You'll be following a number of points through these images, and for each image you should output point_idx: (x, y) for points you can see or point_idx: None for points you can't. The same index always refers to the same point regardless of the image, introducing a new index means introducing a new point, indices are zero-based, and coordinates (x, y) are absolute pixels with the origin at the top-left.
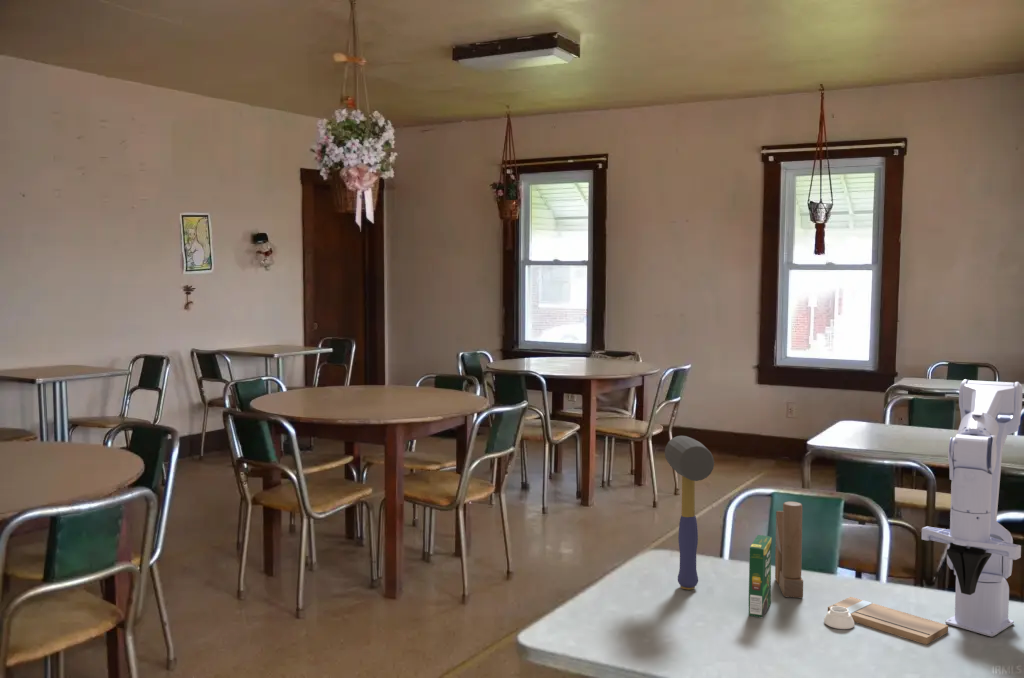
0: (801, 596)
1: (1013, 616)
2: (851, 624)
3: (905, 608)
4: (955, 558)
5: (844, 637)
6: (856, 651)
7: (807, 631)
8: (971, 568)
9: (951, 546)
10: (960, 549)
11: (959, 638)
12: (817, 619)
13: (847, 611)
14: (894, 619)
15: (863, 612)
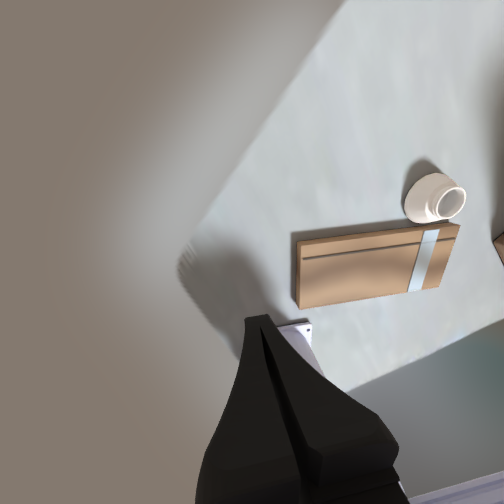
0: (497, 240)
1: None
2: (410, 200)
3: (366, 322)
4: (326, 410)
5: (403, 154)
6: (369, 110)
7: (463, 120)
8: (244, 396)
9: (392, 487)
10: (338, 493)
11: (276, 298)
12: None
13: (436, 206)
14: (363, 267)
15: (408, 252)
